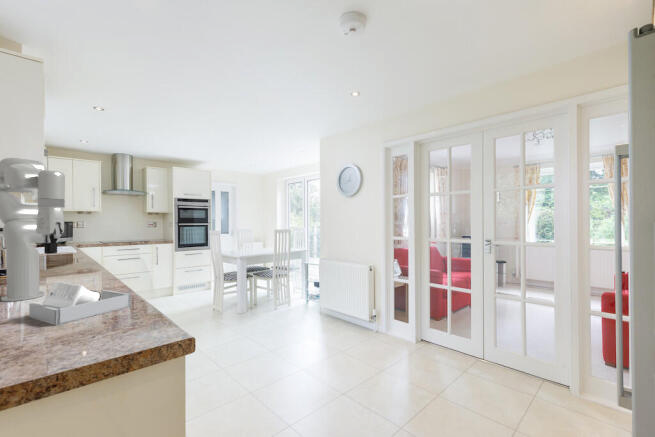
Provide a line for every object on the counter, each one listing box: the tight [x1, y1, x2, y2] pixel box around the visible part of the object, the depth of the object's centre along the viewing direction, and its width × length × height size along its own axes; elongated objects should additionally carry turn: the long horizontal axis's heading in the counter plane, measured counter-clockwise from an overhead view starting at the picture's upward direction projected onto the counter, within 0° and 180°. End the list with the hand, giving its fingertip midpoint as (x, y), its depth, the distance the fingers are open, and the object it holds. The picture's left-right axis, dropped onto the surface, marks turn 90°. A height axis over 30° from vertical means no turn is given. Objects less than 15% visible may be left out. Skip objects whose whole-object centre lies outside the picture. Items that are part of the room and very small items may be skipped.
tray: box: [28, 289, 132, 326], centre depth 105 cm, size 17×22×4 cm
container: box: [42, 280, 101, 309], centre depth 102 cm, size 8×8×13 cm
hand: (50, 253), depth 115 cm, fingers closed
